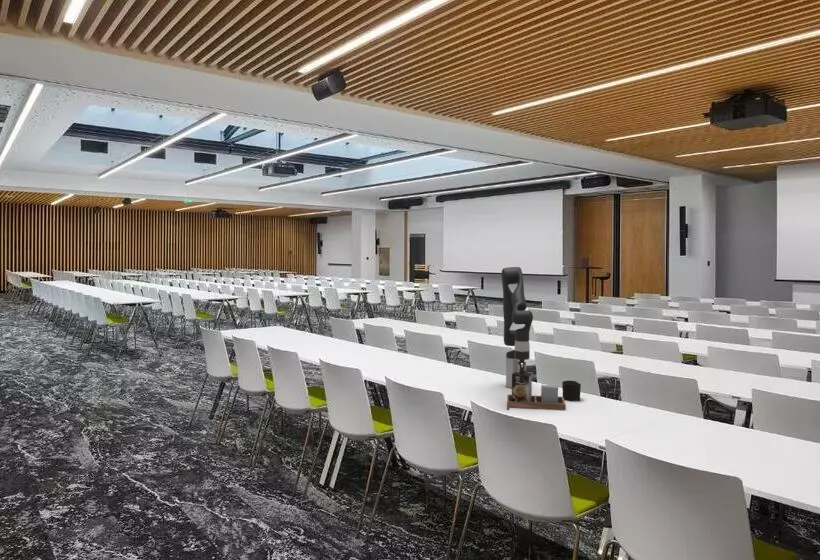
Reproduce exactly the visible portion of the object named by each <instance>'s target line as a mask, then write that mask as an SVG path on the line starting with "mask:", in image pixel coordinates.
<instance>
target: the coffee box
mask: <svg viewBox="0 0 820 560" xmlns="http://www.w3.org/2000/svg"><path fill="white" fill-rule="evenodd" d="M519 373H520V372H514V373H512V388H511V395H512V402H531V398H532V396H533V395H532V394H533V393H532V390H533V388H532V385H533V383H532V381H533V373H532V372H531V373H530V372H525V375H524V383H520V375H519ZM521 373H522V372H521Z"/></svg>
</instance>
